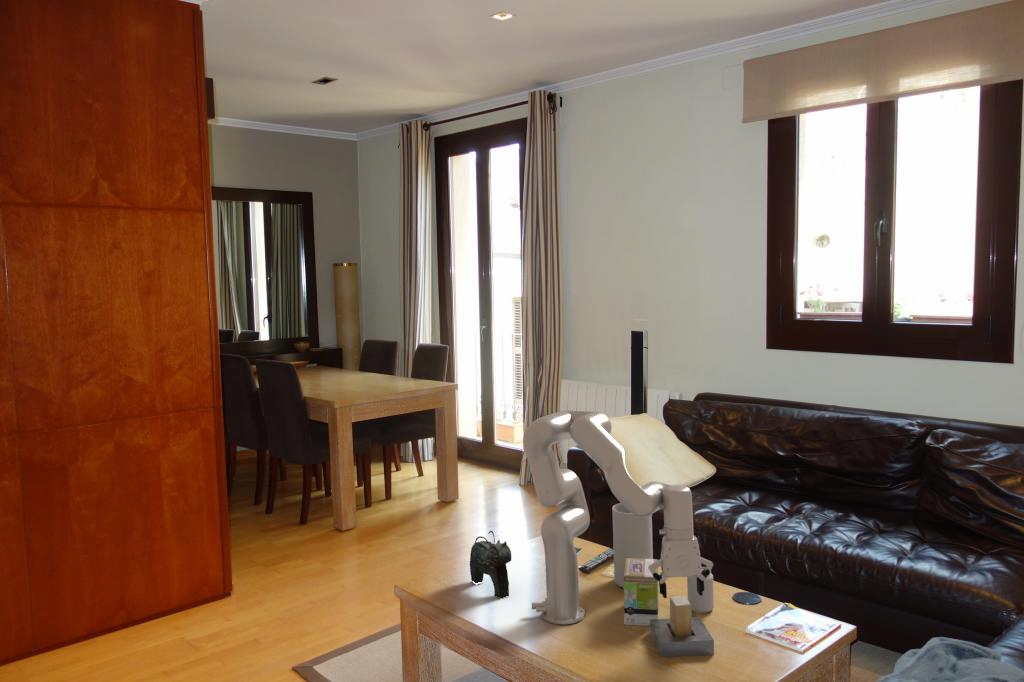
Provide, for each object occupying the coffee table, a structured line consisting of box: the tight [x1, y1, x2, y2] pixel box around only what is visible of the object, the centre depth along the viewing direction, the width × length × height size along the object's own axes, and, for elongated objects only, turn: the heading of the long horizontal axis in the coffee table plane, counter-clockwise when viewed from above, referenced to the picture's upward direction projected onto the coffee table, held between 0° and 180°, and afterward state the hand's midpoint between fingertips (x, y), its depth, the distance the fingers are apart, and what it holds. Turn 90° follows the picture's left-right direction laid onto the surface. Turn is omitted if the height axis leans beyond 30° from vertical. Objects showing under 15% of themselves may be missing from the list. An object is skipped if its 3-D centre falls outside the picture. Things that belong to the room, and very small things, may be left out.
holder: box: [649, 616, 715, 658], centre depth 212 cm, size 14×14×4 cm
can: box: [686, 566, 715, 614], centre depth 233 cm, size 8×8×12 cm
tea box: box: [623, 558, 660, 627], centre depth 230 cm, size 15×10×15 cm, turn 170°
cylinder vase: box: [612, 502, 654, 589], centre depth 254 cm, size 12×12×25 cm
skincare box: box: [669, 595, 692, 637], centre depth 211 cm, size 6×4×12 cm
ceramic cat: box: [469, 530, 512, 599], centre depth 253 cm, size 20×6×20 cm, turn 34°
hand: (682, 595), depth 210 cm, fingers open, 9 cm apart
